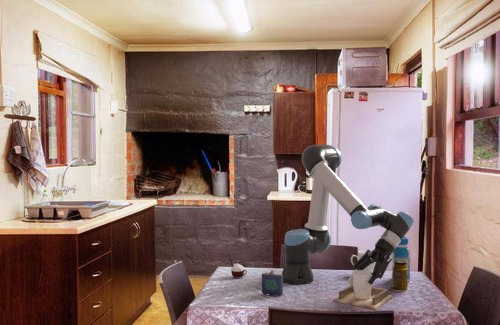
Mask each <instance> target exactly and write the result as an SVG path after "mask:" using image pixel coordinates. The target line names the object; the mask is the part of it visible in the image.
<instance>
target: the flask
mask: <svg viewBox="0 0 500 325" xmlns="http://www.w3.org/2000/svg"><path fill="white" fill-rule="evenodd" d="M274 271H275V270H274V269H270V272H267V271H266V272H262V274H261V294H262V293H263V294H269V295H284V282H283V275H282V273H274Z"/></svg>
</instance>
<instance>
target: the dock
mask: <svg viewBox="0 0 500 325" xmlns="http://www.w3.org/2000/svg"><path fill="white" fill-rule="evenodd" d="M392 298H393V295H391V294H389V289H387V288H386V289H385V288H380V287H379V288H378V287H373V286H372V288H371V298H369V299H358V298H355V297H354V289H353V285H352V286H351V285H350V284H349V286H347V287H346V288H343V289H341V290H340V291H338V296H336V297H334V298H333V299H332V300H333V302H336V303H342V304H345V305H350V306H351V305H352V306H356V307H361V308H362V307H363V308H365V309H366V308H368V309H371V310H377V309H379V308H380V307H382V306H383V305H384V304H386V303H387V302H389V301H390V300H391V299H392Z"/></svg>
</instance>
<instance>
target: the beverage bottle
mask: <svg viewBox="0 0 500 325" xmlns="http://www.w3.org/2000/svg"><path fill="white" fill-rule="evenodd" d="M408 245H409V238H408V237H406V236H404V237H403V239H402V240H401V242H400V243H399V244H398V246H397V247H396V248H395V250H394V252H393V253H392V254H391V256H390V258H391V259H392V261H391V268H392V269H391V270H392V271H391V280H393V267H394V261H397V260H401V261H406V262H407V264H406V265H407V270H408V282H410V280H411V272H410V270H411V268H410V265H411V262H410V261H411V256H410V255H411V251H410V249H409V246H408Z"/></svg>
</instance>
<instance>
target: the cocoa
mask: <svg viewBox="0 0 500 325" xmlns="http://www.w3.org/2000/svg"><path fill="white" fill-rule="evenodd" d="M226 254H227V256H228V260H229V262H230V265H231V272H230V273H231V276H232V277H233V276H234V277H242V276H243V275H244V276H245V275H246V274H247V272H248V270H247V269H245V266H243V265H242V264H240V263H234V264H233V262H232V258H231V256H230V254H229V252H227V253H226ZM244 276H243V277H244ZM234 277H233V278H234ZM243 277H242V278H243Z"/></svg>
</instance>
